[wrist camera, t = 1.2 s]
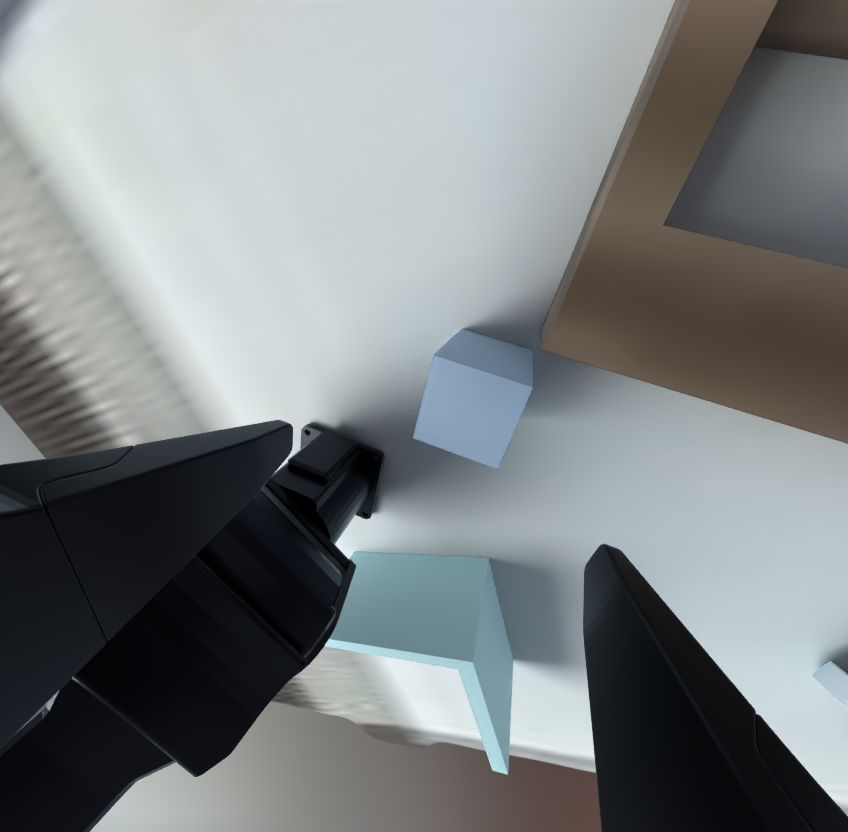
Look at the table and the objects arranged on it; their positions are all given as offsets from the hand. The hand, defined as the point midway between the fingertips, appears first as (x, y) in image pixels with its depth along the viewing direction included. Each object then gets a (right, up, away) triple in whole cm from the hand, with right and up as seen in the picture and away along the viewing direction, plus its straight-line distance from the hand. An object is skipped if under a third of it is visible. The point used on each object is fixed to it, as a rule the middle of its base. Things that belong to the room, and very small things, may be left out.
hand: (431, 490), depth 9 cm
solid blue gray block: (+3, +5, +10) cm, 11 cm away
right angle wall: (+1, -15, +20) cm, 25 cm away
